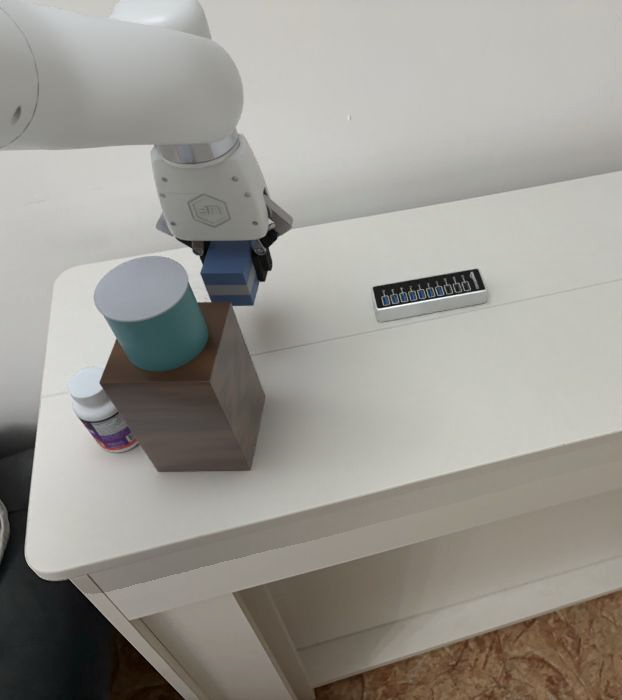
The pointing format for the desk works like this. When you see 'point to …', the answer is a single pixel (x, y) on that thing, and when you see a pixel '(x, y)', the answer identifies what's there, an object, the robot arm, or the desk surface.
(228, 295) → the block
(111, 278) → the yogurt pot
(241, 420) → the walnut crate
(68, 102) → the robot arm
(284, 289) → the desk surface
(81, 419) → the pill bottle
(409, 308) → the multiport hub
